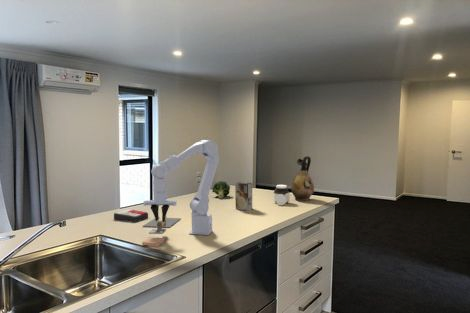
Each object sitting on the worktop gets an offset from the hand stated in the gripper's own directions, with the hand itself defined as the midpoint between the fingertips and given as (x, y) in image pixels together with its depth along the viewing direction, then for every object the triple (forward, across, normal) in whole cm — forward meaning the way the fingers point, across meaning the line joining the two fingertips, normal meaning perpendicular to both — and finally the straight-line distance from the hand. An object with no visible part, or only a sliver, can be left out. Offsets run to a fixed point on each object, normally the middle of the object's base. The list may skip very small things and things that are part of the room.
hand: (160, 221), depth 165 cm
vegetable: (+8, -17, -100) cm, 102 cm away
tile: (+7, +1, +5) cm, 9 cm away
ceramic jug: (+8, -74, -92) cm, 119 cm away
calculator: (+8, +26, -34) cm, 44 cm away
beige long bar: (+4, 0, 0) cm, 4 cm away
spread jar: (+8, -59, -78) cm, 98 cm away
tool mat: (+8, +6, -26) cm, 28 cm away
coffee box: (+8, -35, -62) cm, 71 cm away
